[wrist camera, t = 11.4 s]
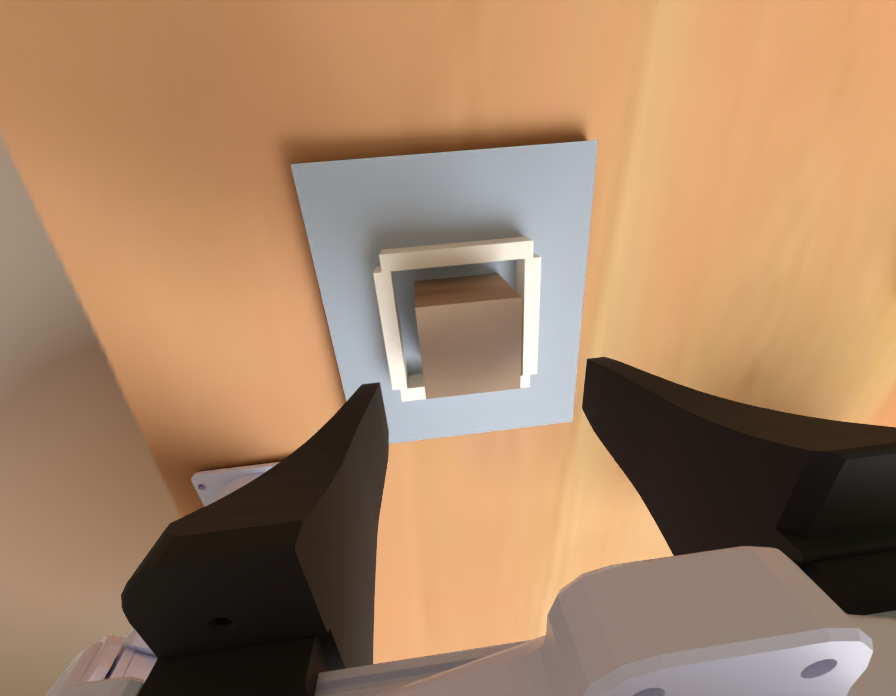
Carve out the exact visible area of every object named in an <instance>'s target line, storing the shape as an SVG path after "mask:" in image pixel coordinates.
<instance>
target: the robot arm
mask: <svg viewBox="0 0 896 696" xmlns="http://www.w3.org/2000/svg"><path fill="white" fill-rule="evenodd" d="M582 409H583V411H584V413H585V415H586V417H587V419H588V421H589V423H590V425H591V426H592V428H593V430H594V432H595V433H596V435H597V436H598V438H599V439H600V440H601V442H602V443H603V444H604V446H605V447H606V449H607V450H608V451H609V453H610V454H611V455H612V457H613V458H614V460H615V461H616V462H617V464H618V465H619V466H620V468H621V469H622V470H623V472H624V473H625V475H626V476H627V477H628V479H629V480H630V481H631V483H632V484H633V486H634V487H635V489H636V490H637V492H638V493H639V495H640V496H641V498H642V500H643V501H644V503H645V505H646V506H647V508H648V510H649V512H650V513H651V515H652V517H653V518H654V520H655V522H656V524H657V525H658V527H659V529H660V531H661V533H662V535H663V536H664V538H665V540H666V542H667V544H668V546H669V547H670V549H671V551H672V553H673V555H674V556H671V557H664V558H657V559H650V560H643V561H636V562H630V563H623V564H616V565H610V566H607V567H603V568H600V569H597V570H594V571H591V572H587V573H584V574H581V575H580V576H579V577H577V578H576V579H575V580H573V581H572V582H571V583H569V584H568V585H566V586H565V587H564V588H562V589H561V590H560V591H559V593H558V595H557V597H556V599H555V601H554V603H553V605H552V607H551V609H550V612H549V614H548V617H547V630H546V635H545V636H542V637H539V638H536V639H534V640H528V641H522V642H515V643H509V644H502V645H496V646H489V647H483V648H476V649H470V650H463V651H457V652H450V653H444V654H437V655H431V656H424V657H418V658H412V659H405V660H399V661H392V662H386V663H379V664H373V631H374V596H375V571H376V550H377V531H378V522H379V514H380V507H381V501H382V495H383V488H384V482H385V475H386V469H387V462H388V449H389V429H388V424H387V418H386V413H385V407H384V402H383V396H382V391H381V385H380V382H377V383H368V384H362V385H361V386H360V387H359V388H358V389H357V390H356V391H355V392H354V394H353V395H352V396H351V397H350V398H349V399H348V401H347V402H346V403H345V404H344V405H343V406H342V407H341V408H340V410H339V411H338V412H337V413H336V414H335V415H334V416H333V417H332V418H331V419H330V420H329V421H328V422H327V423H326V424H325V425H324V426H323V427H322V428H321V429H320V430H319V431H318V432H317V433H316V434H315V435H314V436H312V437H311V438H310V439H309V440H308V441H307V442H306V443H304V444H303V445H302V446H301V447H299V448H298V449H297V450H296V451H294V452H293V453H292V454H291V455H289V456H288V457H287V458H285V459H284V460H282V461H281V462H274V463H266V464H258V465H250V466H241V467H233V468H225V469H217V470H209V471H200V472H196V473H195V474H194V475H193V476H192V478H191V482H192V484H193V486H194V488H195V490H196V492H197V493H198V495H199V497H200V499H201V501H202V503H203V505H204V507H203V508H201V509H199V510H197V511H195V512H193V513H191V514H189V515H187V516H185V517H183V518H181V519H179V520H177V521H174V522H172V523H170V524H169V526H168V527H167V528H166V529H165V531H164V532H163V533H162V535H161V536H160V538H159V539H158V541H157V542H156V543H155V545H154V546H153V547H152V549H151V550H150V552H149V553H148V554H147V556H146V557H145V559H144V560H143V561H142V563H141V564H140V565H139V567H138V568H137V570H136V571H135V572H134V574H133V575H132V577H131V578H130V579H129V581H128V582H127V584H126V586H125V588H124V590H123V592H122V594H121V600H122V609H123V612H124V614H125V616H126V617H127V619H128V621H129V623H130V624H131V625H132V627H133V628H132V630H131V631H130V632H129V633H128V634H127V635H126V636H125V638H122V637H119V636H116V635H108V636H106V637H105V638H104V639H103V640H102V641H101V642H97V643H95V644H92V645H90V646H88V647H86V648H84V649H83V650H82V651H81V652H80V653H79V654H78V655H77V656H76V658H75V659H74V660H73V661H72V662H71V664H70V665H69V666H68V667H67V669H66V670H65V671H64V672H63V674H62V675H61V676H60V677H59V679H58V680H57V681H56V683H55V684H54V685H53V687H52V688H51V689H50V690H49V692H48V693H47V694H46V696H896V428H895V427H886V426H877V425H868V424H858V423H849V422H841V421H833V420H827V419H820V418H814V417H807V416H801V415H796V414H790V413H784V412H779V411H775V410H770V409H765V408H760V407H756V406H751V405H747V404H743V403H739V402H735V401H731V400H728V399H724V398H720V397H717V396H713V395H710V394H706V393H703V392H700V391H697V390H694V389H691V388H688V387H685V386H682V385H679V384H676V383H674V382H671V381H668V380H666V379H663V378H660V377H658V376H655V375H652V374H650V373H647V372H645V371H642V370H640V369H637V368H635V367H632V366H630V365H627V364H624V363H622V362H619V361H616V360H613V359H610V358H606V357H600V358H591V359H587V365H586V375H585V384H584V394H583V404H582ZM202 484H203V485H202Z"/></svg>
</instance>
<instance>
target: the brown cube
mask: <svg viewBox="0 0 896 696" xmlns="http://www.w3.org/2000/svg"><path fill="white" fill-rule="evenodd" d="M414 285H415V311H416V320H417V328H418V336H419V345H420V353H421V362H422V370H423V378H424V387H425V395H426V399H433V398H441V397H450V396H459V395H468V394H476V393H485V392H494V391H503V390H512V389H520V381H521V317H522V297H521V296H520V295H519V294H518V293H517V292H516V291H515V290H514V289H513V288H512V287H511V286H510V285H509V284H508V283H507V282H506V281H505V280H504V279H503V278H502V277H501V276H500V275H499V274H498V273H494V274H484V275H473V276H463V277H453V278H442V279H432V280H421V281H414Z"/></svg>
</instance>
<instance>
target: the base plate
mask: <svg viewBox="0 0 896 696" xmlns="http://www.w3.org/2000/svg"><path fill="white" fill-rule="evenodd" d="M597 146H598V140H591V141H578V142H566V143H553V144H540V145H527V146H515V147H502V148H489V149H477V150H464V151H451V152H438V153H426V154H413V155H400V156H388V157H375V158H362V159H349V160H337V161H324V162H311V163H298V164H290V165H291V169H292V173H293V178H294V182H295V186H296V190H297V195H298V199H299V203H300V207H301V212H302V216H303V220H304V224H305V229H306V233H307V237H308V241H309V246H310V250H311V254H312V258H313V262H314V267H315V271H316V275H317V279H318V284H319V288H320V292H321V296H322V301H323V305H324V309H325V313H326V318H327V322H328V326H329V330H330V335H331V339H332V343H333V347H334V352H335V356H336V360H337V364H338V368H339V373H340V377H341V381H342V385H343V390H344V394H345V398H346V402H347V401H348V399H349V398H350V397H351V396H352V395H353V394H354V392H355V391H356V390H357V389H358V388H359V387H360V386H361V385H362V384H368V383H377V382H380V385H381V391H382V396H383V402H384V407H385V413H386V418H387V424H388V429H389V444H392V443H400V442H408V441H416V440H425V439H433V438H441V437H449V436H458V435H466V434H474V433H482V432H491V431H499V430H507V429H515V428H524V427H532V426H540V425H548V424H557V423H565V422H572V419H573V408H574V397H575V386H576V375H577V364H578V353H579V342H580V331H581V321H582V310H583V299H584V288H585V277H586V266H587V255H588V244H589V233H590V222H591V211H592V200H593V189H594V179H595V168H596V157H597ZM494 273H498V274H499V275H500V276H501V277H502V278H503V279H504V280H505V281H506V282H507V283H508V284H509V285H510V286H511V287H512V288H513V289H514V290H515V291H516V292H517V293H518V294H519V295H520V296H521V297H522V317H521V381H520V389H512V390H503V391H494V392H485V393H476V394H468V395H459V396H450V397H441V398H433V399H426V395H425V387H424V378H423V370H422V362H421V353H420V345H419V336H418V328H417V320H416V311H415V285H414V281H421V280H432V279H442V278H453V277H463V276H473V275H484V274H494Z"/></svg>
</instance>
